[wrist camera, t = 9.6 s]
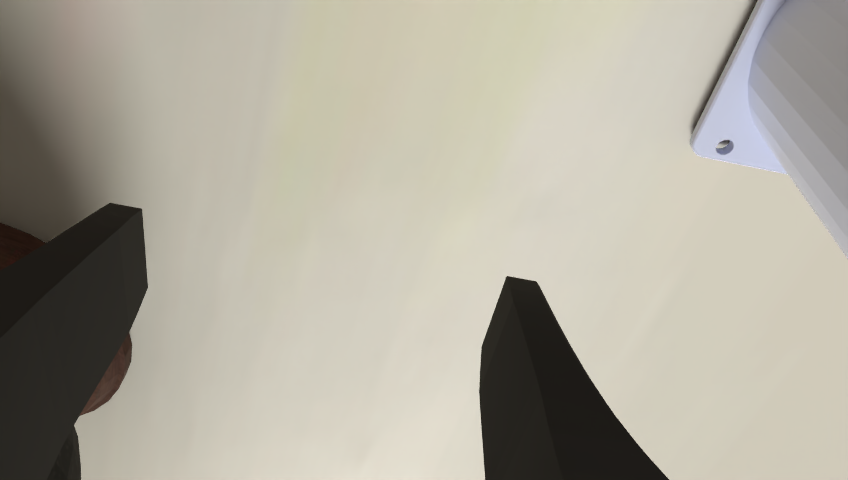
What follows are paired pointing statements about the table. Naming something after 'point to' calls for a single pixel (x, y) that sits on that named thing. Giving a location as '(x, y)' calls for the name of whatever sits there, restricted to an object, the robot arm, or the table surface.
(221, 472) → the table surface
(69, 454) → the black ball on stand
